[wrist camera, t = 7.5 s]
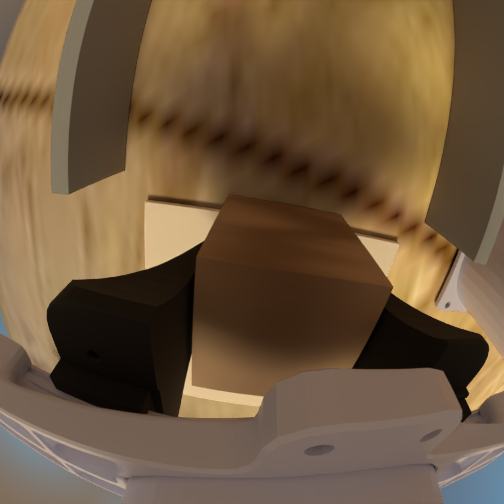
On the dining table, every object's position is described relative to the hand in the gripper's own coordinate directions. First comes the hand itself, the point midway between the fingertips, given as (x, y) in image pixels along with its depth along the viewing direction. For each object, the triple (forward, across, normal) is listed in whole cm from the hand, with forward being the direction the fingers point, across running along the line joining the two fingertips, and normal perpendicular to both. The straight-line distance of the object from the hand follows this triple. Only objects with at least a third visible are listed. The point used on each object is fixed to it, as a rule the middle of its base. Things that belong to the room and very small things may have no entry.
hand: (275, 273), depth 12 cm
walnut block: (+2, 0, 0) cm, 2 cm away
